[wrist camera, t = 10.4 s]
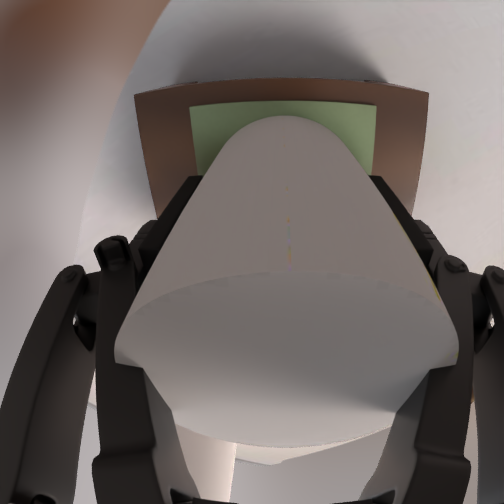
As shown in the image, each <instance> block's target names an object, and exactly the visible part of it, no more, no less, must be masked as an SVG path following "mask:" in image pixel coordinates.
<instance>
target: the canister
mask: <svg viewBox="0 0 504 504" xmlns="http://www.w3.org/2000/svg"><path fill="white" fill-rule="evenodd" d="M175 426H176V430H177V434H178V437H179V441H180V445H181V448H182V452H183V455H184V459H185V462H186V465H187V468H188V471H189V473H190V475H191V476H192V478H193V480H194V482H195V484H196V486H197V489H198V492H199V494H200V497H201V499H207V500H214V501H221V502H229V501H230V493H231V485H232V477H233V469H234V461H235V453H236V445H237V443H233V442H228V441H224V440H220V439H216V438H212V437H209V436H206V435H203V434H200V433H197V432H194V431H192V430H189V429H187V428H184V427H182V426H180V425H178V424H176V423H175Z"/></svg>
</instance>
